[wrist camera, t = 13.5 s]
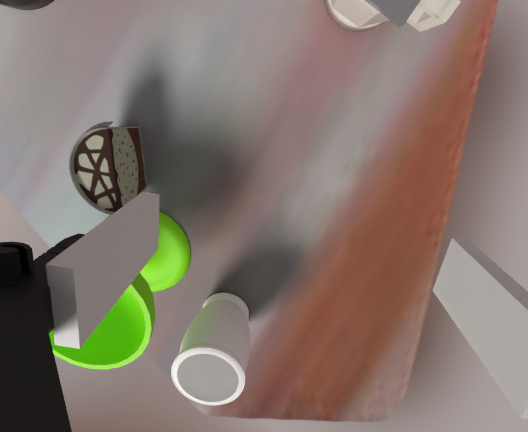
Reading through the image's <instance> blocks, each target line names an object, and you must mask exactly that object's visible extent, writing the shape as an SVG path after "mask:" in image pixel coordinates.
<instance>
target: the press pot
mask: <svg viewBox="0 0 528 432" xmlns="http://www.w3.org/2000/svg"><path fill="white" fill-rule="evenodd" d="M324 1H325V6H326V9H327V11H328V14H329V15H330V17H331V19H332V20H333V21H334V22H335V23H336V24H337V25H338V26H340V27H341V28H343V29H345V30H348V31H353V32H361V31H366V30H369V29H371V28H374V27H375V26H377V25H378V24H380V23H382V22H384V21H388V20H391V21H392V22H393V23H394V24H396V25H397V26H398V27H402V26H403V25H404V24H405V22H406V21H407V22H408V23H409V24H411V25H412V26H413V27H414V28H416V29H417V30H418V31H420V32H421V31H424V30H427V29H429V28H432V27H434V26H437V25H440V24H442V23H445V22H446V21H447V20H448V19H449V17H450V16H451V15H452V13H453V12H454V11H455V9H456V8H457V7H458V5H459V4H460V2H461V1H459V0H324Z"/></svg>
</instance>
